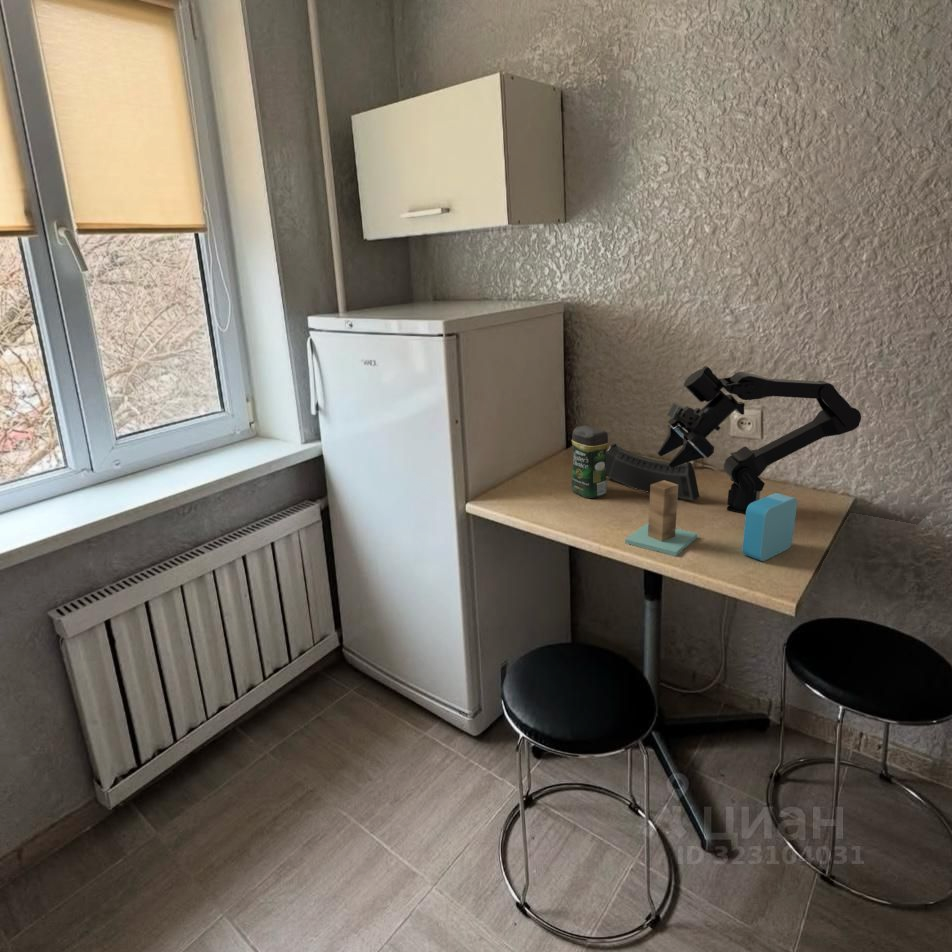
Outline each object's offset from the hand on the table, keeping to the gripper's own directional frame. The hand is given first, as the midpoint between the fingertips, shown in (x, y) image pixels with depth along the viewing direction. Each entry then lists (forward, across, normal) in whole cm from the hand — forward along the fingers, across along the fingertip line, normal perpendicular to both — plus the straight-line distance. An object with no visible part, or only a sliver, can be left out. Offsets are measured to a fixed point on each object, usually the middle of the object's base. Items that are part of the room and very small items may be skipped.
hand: (664, 460), depth 161 cm
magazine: (+10, -16, +10) cm, 22 cm away
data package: (-1, +25, +21) cm, 33 cm away
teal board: (+13, +17, +6) cm, 22 cm away
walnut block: (+12, +17, +5) cm, 22 cm away
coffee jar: (+21, -16, -1) cm, 26 cm away
